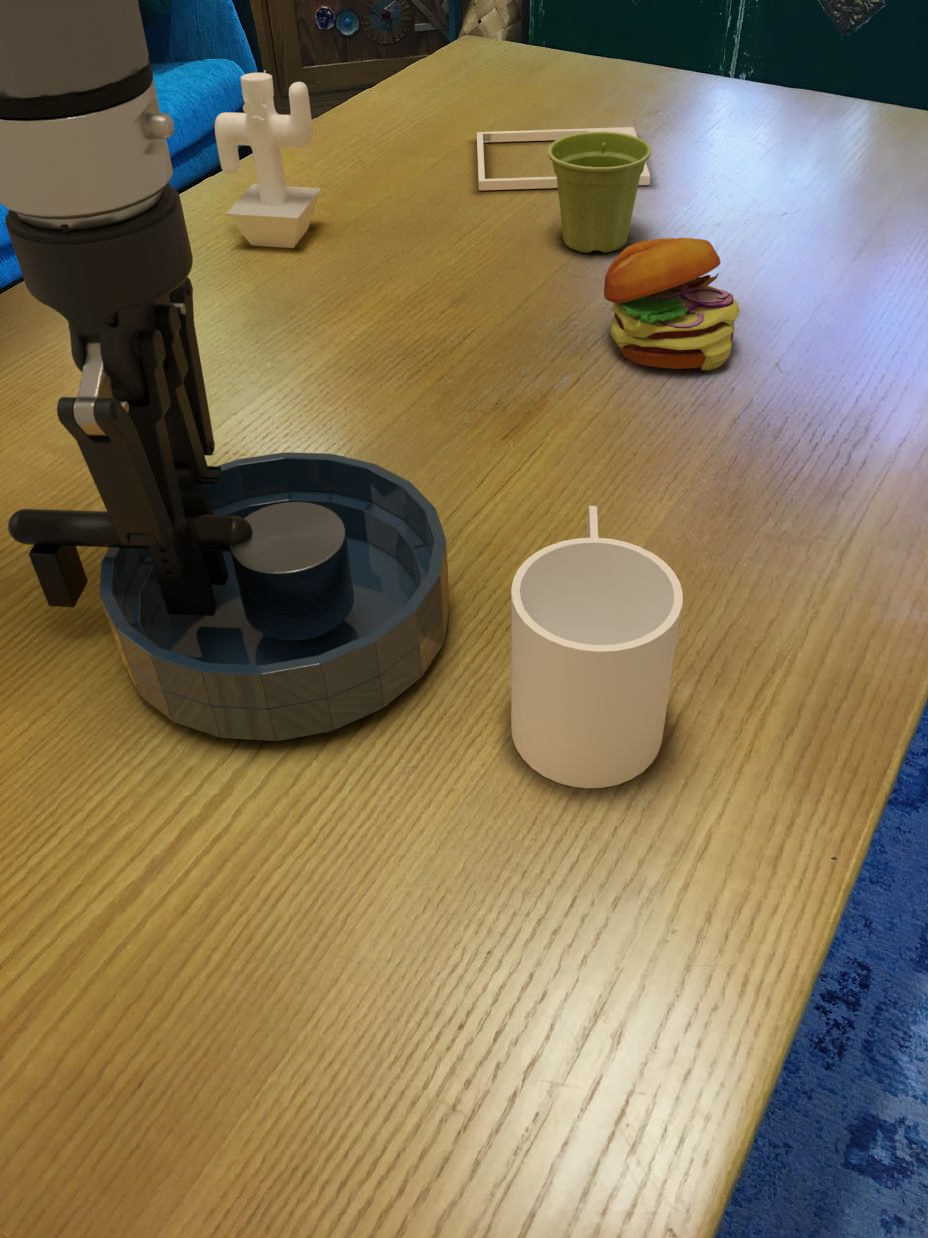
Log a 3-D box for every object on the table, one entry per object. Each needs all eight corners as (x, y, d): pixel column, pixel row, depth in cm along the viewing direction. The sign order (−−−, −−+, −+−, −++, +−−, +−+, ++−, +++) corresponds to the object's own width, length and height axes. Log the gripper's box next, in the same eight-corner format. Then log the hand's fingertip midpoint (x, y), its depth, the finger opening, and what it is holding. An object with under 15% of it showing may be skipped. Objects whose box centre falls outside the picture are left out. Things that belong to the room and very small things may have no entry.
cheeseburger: (680, 395, 82) (668, 265, 76) (584, 373, 90) (567, 254, 84) (765, 348, 86) (759, 222, 81) (667, 331, 94) (655, 215, 89)
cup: (652, 629, 63) (670, 493, 57) (667, 791, 55) (690, 653, 48) (515, 626, 64) (515, 491, 57) (508, 786, 55) (508, 649, 48)
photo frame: (650, 173, 111) (478, 179, 111) (649, 184, 112) (478, 190, 112) (633, 124, 122) (476, 130, 122) (633, 135, 122) (476, 140, 123)
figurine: (248, 219, 109) (220, 60, 99) (336, 224, 107) (317, 63, 97) (221, 249, 104) (189, 85, 93) (313, 256, 102) (291, 89, 92)
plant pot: (525, 242, 103) (526, 150, 97) (589, 212, 107) (593, 122, 102) (599, 271, 98) (605, 176, 92) (663, 239, 102) (672, 146, 97)
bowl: (78, 740, 59) (46, 663, 54) (180, 521, 72) (160, 447, 68) (428, 759, 57) (421, 683, 53) (463, 531, 71) (460, 457, 67)
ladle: (362, 570, 64) (352, 488, 60) (343, 643, 59) (331, 560, 55) (56, 558, 66) (26, 478, 62) (15, 629, 61) (-20, 547, 57)
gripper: (116, 273, 41) (229, 692, 57) (218, 133, 51) (288, 518, 68) (-71, 271, 41) (93, 685, 57) (69, 132, 52) (173, 514, 68)
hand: (198, 594), depth 62 cm, fingers closed on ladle, 2 cm apart
